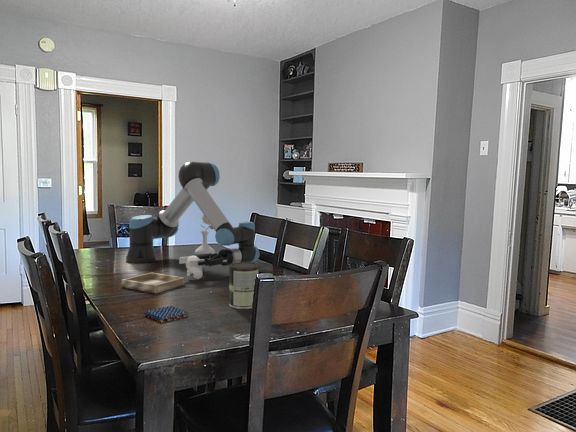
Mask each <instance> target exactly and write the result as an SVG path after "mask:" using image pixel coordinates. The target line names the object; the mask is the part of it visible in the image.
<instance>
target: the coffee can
mask: <svg viewBox="0 0 576 432" xmlns="http://www.w3.org/2000/svg"><path fill="white" fill-rule="evenodd" d="M228 266H229V278H228V279H229V287H228V288H229V289H228V294H229V296H228V297H229V299H228V301H229V302H228V306H229V307H231V308H233V309H236V310H237V309H238V310H239V309H240V310H249V309H253V308H252V302H253V294H254V285H255V279H256V275H257V274H259V273H260V272H259V270H260V269H259V268H260V265H259V264H258V263H256V262H239V263H232V264H230V265H228Z"/></svg>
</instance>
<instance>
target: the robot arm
mask: <svg viewBox="0 0 576 432" xmlns="http://www.w3.org/2000/svg"><path fill="white" fill-rule="evenodd" d="M220 178H221V176H220V170H219V168H218V166H217V165H216V164H214V163H211V162H209V161H207V162H204V161H202V162H200V161H188V162H185V163H184V164H182V166H180V169H179V171H178V182H179V183H180V187H182V188H181V189H180V190H179V192H178V193H177V195H176V196H175V197H174V199H172V201H171V202H170V204H169V205H168V206H167V207H166V209H165V210H161V211H159V213H158V214H157V216H153V215H152V214H142V215H136V216H132V217H130V219H129V225H128V228H129V229H128V230H129V232H128V233H129V247H128V251H127V253H126V254H127V255H126V256H125V262H127V263H131V264H146V263H147V264H148V263H153V262H156V261H158V260H157V254H156V251H155V247H154V240H155V239H157V240H158V239H168V238H172V237H173V236H175V235H176V234H177V233H178V231H179V227H180V225H179V224H180V223H179V222H180V218H181V217H182V216H183V215H184V214H185V213H186V211H187V210H188V209H189V207H190V206H191V205H192V204H193V203H194V202H195V204H196V205H197V207H198V208H199V210H200V211H201V213H202V214H203V215H204V216H205V217H206V219H207V220H208V221H209V223H210V226H212V227H213V229H212V230H214V231H215V235H214V238H215V242H216V243H217V244H218V245H219V246H222V247H223V246H224V247H225V246H231V245H236V244H237V245H238V247H232V248H231V247H230V248H224V249H223V248H221V249H220V250H219V252H218V253H216V252H215V253H214V254H212V253H209V254H191V255H188V256H180V257H179V260H178V263H179V265H181V264H186V261H187V259H188V257H190V256H197V257H198V258H199V259H200V260H192V261H190V267H198V266H202V267H204V266H206V267H214V266H219V265H220V266H222V267H226V266H229V265H230V264H232V263H239V262H250V263H255V262H257V261H258V260H259V258H260V252H259V250H260V249H259V248H258V247H257V246H255V240H256V239H255V236H256V233H255V232H256V230H255V229H256V227H255V223H254V222H253V221H240V222H239V223H238V226H234V227H233V226H232V224H231V222H230V221H229V219H227V217H226V215H225V214H224V212H223V211H222V210H221V208H220V207H219V206H218V204H217V203H216V201H215V200H214V198H213V197H212V196H211V194H210V193H209V191H208V189H209V188H210V187H215V186H217V185H218V183H219V181H220Z"/></svg>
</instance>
